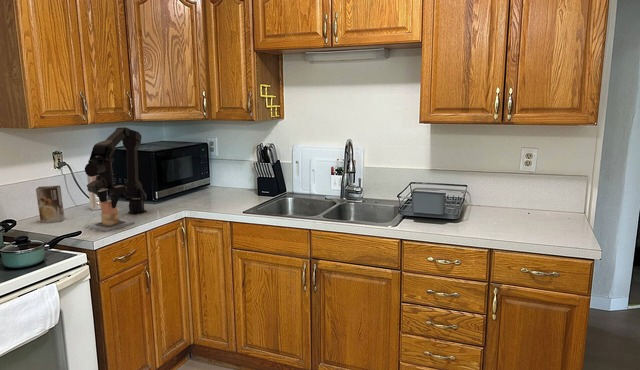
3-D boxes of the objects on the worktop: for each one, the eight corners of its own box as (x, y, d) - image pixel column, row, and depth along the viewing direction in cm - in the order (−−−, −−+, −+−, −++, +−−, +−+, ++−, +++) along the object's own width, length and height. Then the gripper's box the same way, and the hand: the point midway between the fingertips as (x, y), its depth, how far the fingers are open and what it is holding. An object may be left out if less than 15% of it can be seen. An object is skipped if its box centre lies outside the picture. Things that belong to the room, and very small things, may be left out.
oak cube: (111, 221, 214) (110, 211, 213) (119, 223, 212) (118, 212, 211) (102, 224, 210) (100, 213, 209) (109, 225, 208) (108, 214, 207)
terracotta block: (110, 211, 213) (109, 200, 212) (117, 212, 211) (116, 201, 210) (101, 213, 209) (100, 202, 208) (108, 214, 207) (107, 203, 206)
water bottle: (90, 210, 239) (84, 161, 234) (90, 207, 245) (85, 159, 240) (105, 209, 242) (100, 160, 237) (105, 206, 248) (100, 158, 243)
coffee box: (65, 218, 225) (61, 185, 222) (62, 221, 219) (57, 187, 216) (43, 219, 223) (39, 186, 220) (39, 223, 217) (35, 188, 214)
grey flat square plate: (114, 220, 221) (114, 217, 220) (134, 223, 215) (134, 220, 214) (86, 228, 207) (85, 225, 207) (106, 231, 202) (106, 228, 201)
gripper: (74, 174, 204) (78, 209, 207) (104, 177, 195) (108, 214, 198) (97, 170, 213) (100, 204, 216) (126, 172, 205) (129, 208, 208)
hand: (109, 207), depth 210 cm, fingers open, 6 cm apart
